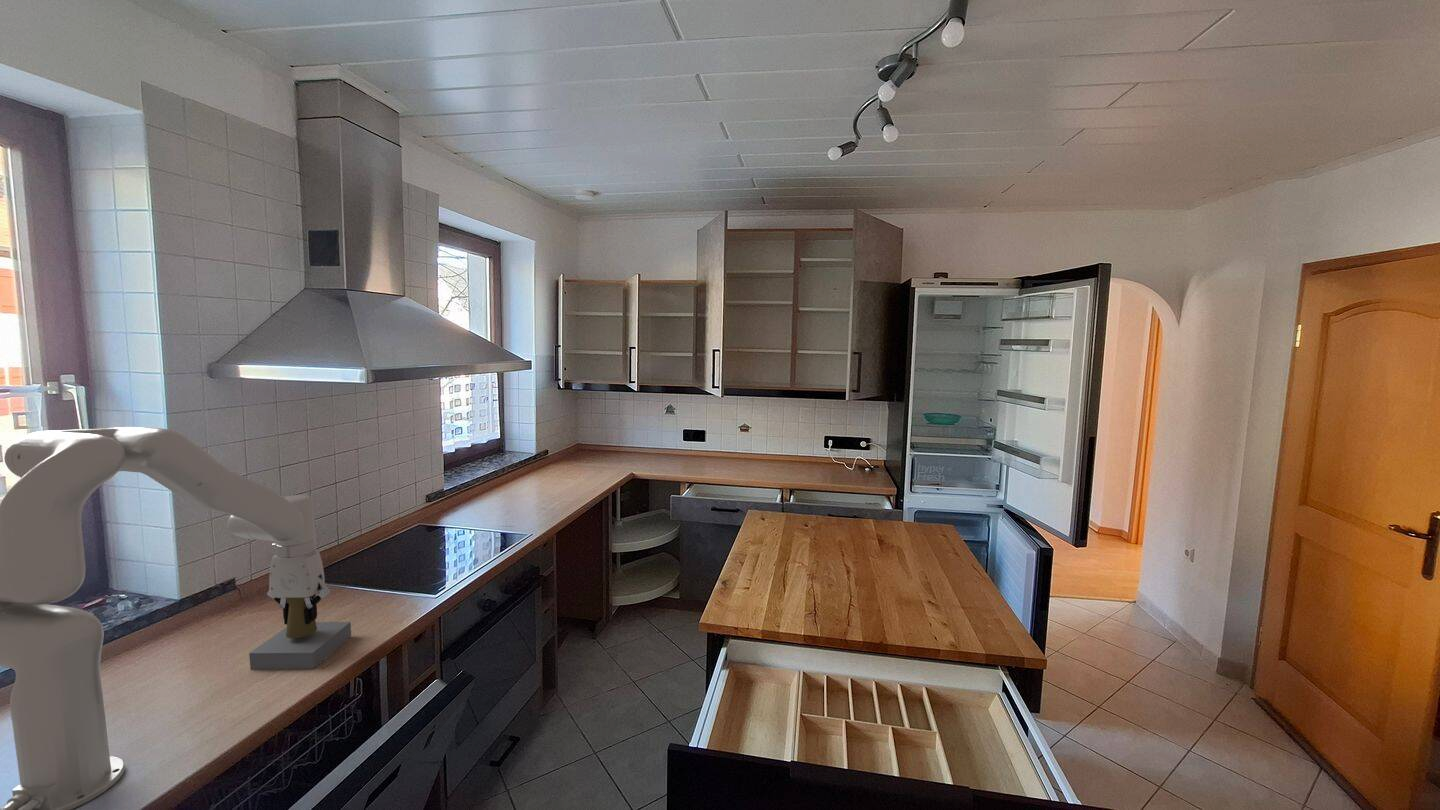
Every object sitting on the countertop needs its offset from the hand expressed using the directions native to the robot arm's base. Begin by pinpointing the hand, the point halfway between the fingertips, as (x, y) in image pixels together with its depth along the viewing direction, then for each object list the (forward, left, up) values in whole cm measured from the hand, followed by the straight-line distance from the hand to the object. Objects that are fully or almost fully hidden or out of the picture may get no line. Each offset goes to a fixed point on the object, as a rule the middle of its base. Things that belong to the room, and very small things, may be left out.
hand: (300, 620), depth 132 cm
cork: (0, 0, -3) cm, 3 cm away
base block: (0, 0, -8) cm, 8 cm away
